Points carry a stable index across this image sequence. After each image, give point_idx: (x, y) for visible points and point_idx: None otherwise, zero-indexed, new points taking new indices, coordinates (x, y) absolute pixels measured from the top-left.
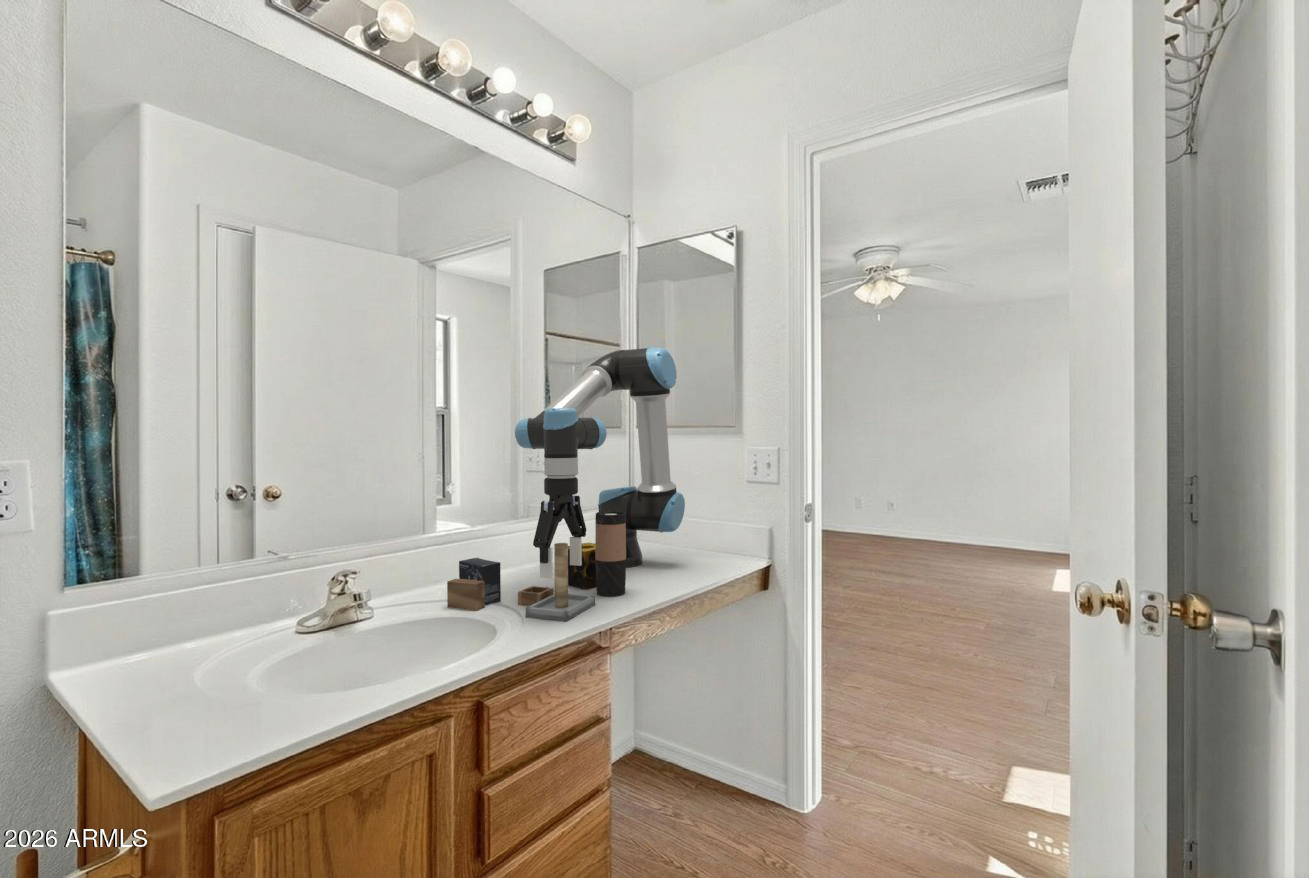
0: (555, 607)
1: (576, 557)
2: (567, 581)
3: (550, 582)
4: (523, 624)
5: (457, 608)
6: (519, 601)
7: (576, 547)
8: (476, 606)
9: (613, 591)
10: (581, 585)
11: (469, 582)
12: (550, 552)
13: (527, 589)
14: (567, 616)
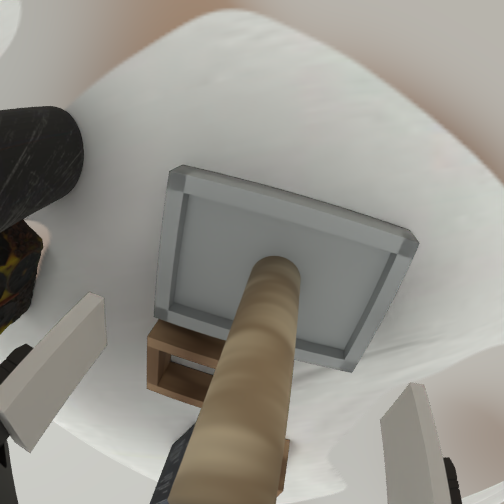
0: None
1: (81, 342)
2: (269, 313)
3: (32, 331)
4: (417, 341)
5: None
6: None
7: (48, 382)
8: (288, 447)
9: (69, 131)
10: (35, 256)
11: None
12: (449, 500)
13: (186, 396)
14: (408, 234)
